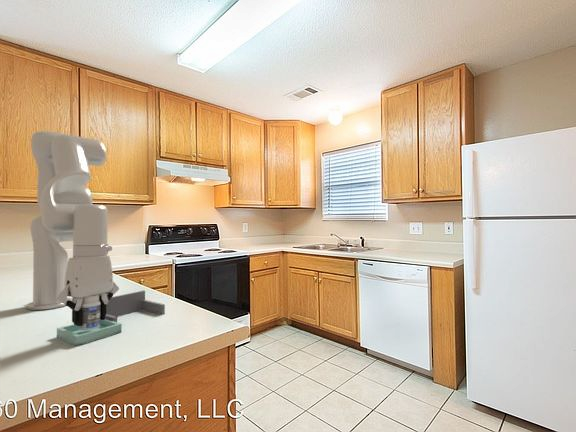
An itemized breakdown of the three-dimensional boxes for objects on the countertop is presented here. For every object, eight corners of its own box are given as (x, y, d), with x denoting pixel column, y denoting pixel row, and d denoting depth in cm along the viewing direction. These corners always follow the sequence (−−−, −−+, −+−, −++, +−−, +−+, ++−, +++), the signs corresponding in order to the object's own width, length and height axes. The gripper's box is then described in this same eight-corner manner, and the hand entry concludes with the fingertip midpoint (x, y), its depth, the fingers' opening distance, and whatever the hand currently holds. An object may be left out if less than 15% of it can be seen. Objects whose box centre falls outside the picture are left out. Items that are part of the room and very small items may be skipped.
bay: (92, 321, 89) (92, 301, 89) (143, 308, 103) (143, 290, 103) (113, 329, 83) (113, 306, 83) (164, 313, 97) (164, 294, 97)
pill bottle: (89, 331, 76) (90, 297, 76) (74, 330, 77) (74, 296, 77) (104, 325, 81) (105, 293, 81) (89, 323, 82) (90, 292, 82)
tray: (56, 337, 77) (56, 328, 77) (100, 325, 86) (100, 317, 86) (76, 346, 72) (76, 336, 72) (121, 332, 81) (121, 323, 81)
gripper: (115, 248, 89) (114, 311, 88) (45, 253, 74) (44, 329, 74) (130, 249, 85) (129, 315, 84) (58, 255, 70) (57, 335, 70)
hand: (89, 321), depth 79 cm, fingers closed on pill bottle, 4 cm apart
